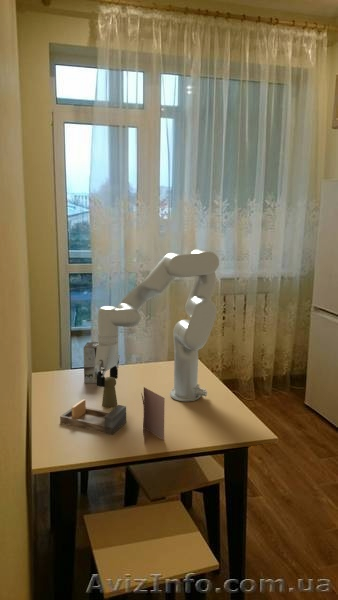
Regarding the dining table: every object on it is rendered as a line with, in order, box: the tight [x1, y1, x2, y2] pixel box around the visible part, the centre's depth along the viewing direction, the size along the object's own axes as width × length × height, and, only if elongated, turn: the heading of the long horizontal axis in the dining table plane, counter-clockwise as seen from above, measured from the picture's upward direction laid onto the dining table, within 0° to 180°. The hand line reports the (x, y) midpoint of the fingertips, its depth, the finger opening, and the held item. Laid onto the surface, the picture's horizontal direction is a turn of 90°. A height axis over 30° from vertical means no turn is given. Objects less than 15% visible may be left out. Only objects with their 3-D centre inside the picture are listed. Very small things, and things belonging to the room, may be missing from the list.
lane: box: [59, 404, 127, 436], centre depth 153 cm, size 21×10×6 cm, turn 68°
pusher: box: [71, 398, 87, 419], centre depth 156 cm, size 1×7×5 cm, turn 158°
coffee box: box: [83, 341, 102, 384], centre depth 192 cm, size 9×6×16 cm
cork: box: [101, 376, 119, 409], centre depth 167 cm, size 6×6×11 cm
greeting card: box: [140, 386, 165, 441], centre depth 144 cm, size 11×7×15 cm, turn 4°
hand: (107, 382), depth 166 cm, fingers open, 9 cm apart
